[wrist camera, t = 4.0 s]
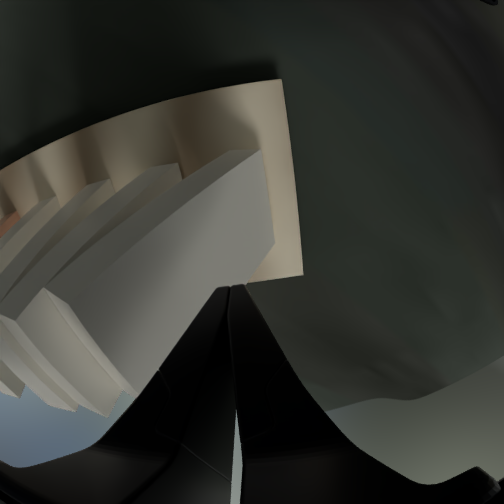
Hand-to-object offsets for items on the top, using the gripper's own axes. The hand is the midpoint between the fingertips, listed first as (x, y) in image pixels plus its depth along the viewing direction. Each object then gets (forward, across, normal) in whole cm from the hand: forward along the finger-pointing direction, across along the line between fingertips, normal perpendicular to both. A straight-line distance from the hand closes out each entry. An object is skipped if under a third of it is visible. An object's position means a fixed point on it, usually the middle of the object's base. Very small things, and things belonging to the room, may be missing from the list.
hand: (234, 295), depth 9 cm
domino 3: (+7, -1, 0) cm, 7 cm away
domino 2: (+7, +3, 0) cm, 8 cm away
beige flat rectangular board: (+8, +8, 0) cm, 11 cm away
